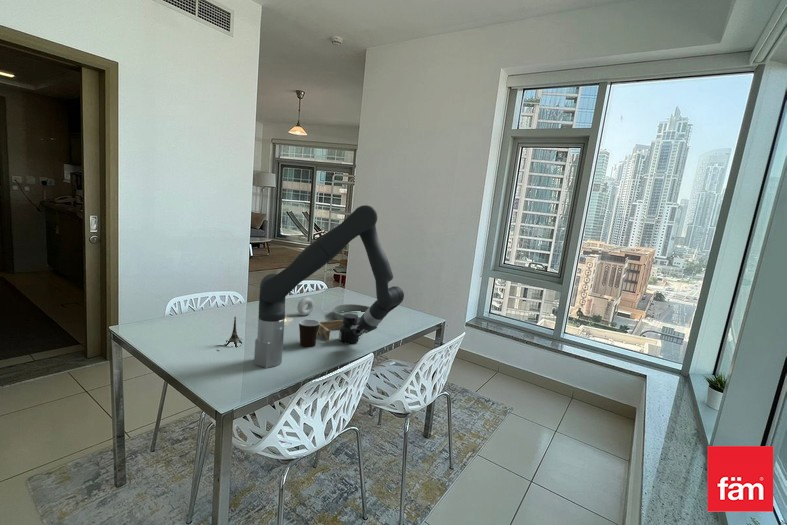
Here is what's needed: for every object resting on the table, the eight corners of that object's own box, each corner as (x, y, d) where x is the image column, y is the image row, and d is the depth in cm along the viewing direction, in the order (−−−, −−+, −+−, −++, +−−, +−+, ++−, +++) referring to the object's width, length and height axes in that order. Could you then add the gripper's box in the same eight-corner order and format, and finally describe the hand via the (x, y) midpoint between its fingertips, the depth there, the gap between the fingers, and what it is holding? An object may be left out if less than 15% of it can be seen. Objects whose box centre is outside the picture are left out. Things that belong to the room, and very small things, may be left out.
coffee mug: (313, 350, 155) (314, 327, 154) (293, 346, 157) (295, 323, 156) (323, 341, 167) (325, 319, 165) (305, 337, 168) (307, 316, 167)
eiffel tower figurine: (248, 338, 162) (249, 308, 160) (256, 346, 154) (258, 315, 152) (210, 344, 152) (212, 312, 150) (218, 353, 144) (219, 320, 142)
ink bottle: (346, 336, 176) (348, 311, 174) (362, 340, 172) (364, 315, 170) (334, 341, 167) (336, 316, 165) (351, 346, 163) (353, 320, 162)
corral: (362, 335, 178) (363, 326, 178) (326, 340, 168) (327, 330, 167) (350, 327, 188) (350, 318, 187) (315, 331, 178) (316, 322, 177)
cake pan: (370, 311, 221) (370, 304, 220) (382, 325, 198) (382, 317, 197) (328, 311, 213) (329, 303, 212) (335, 325, 190) (336, 316, 189)
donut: (299, 317, 195) (300, 299, 193) (295, 316, 197) (296, 297, 195) (314, 314, 202) (316, 297, 201) (310, 313, 204) (312, 295, 203)
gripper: (383, 308, 159) (366, 326, 171) (355, 310, 151) (339, 329, 163) (388, 324, 155) (370, 342, 167) (360, 327, 148) (344, 345, 160)
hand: (355, 336), depth 165 cm, fingers closed
